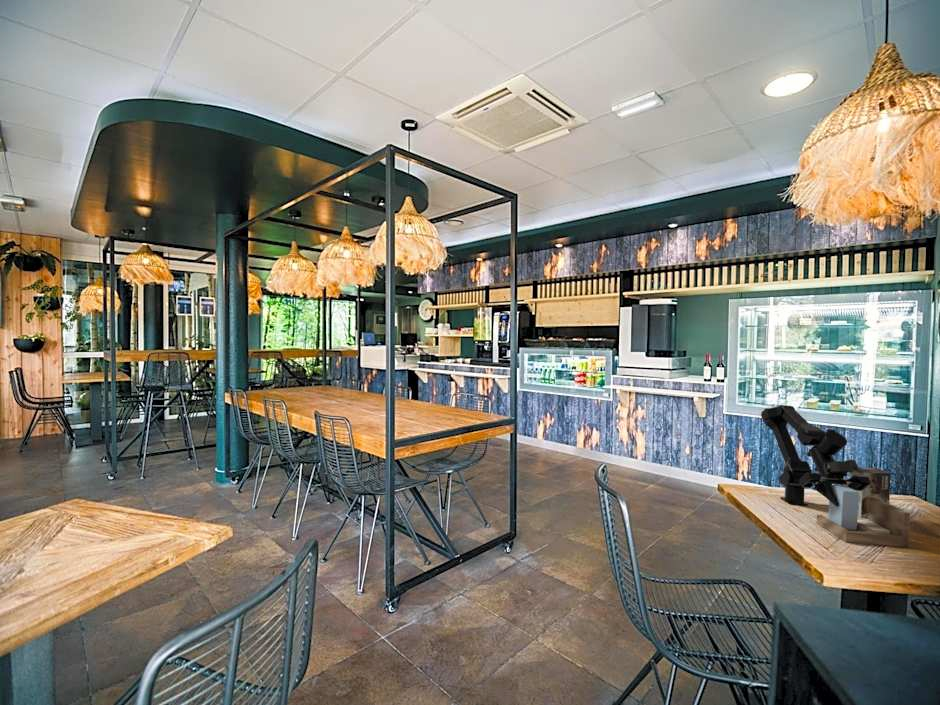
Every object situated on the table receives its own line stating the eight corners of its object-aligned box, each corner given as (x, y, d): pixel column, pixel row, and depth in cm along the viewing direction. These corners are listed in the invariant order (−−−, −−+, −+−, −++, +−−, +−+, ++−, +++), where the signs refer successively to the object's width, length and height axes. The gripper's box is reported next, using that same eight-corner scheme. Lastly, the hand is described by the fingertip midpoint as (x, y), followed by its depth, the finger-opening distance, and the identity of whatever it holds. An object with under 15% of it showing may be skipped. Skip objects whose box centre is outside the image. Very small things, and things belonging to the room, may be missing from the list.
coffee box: (874, 512, 160) (876, 467, 159) (889, 519, 153) (892, 473, 153) (846, 510, 160) (849, 466, 160) (860, 517, 154) (863, 471, 153)
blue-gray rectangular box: (828, 520, 146) (830, 484, 145) (843, 521, 145) (845, 485, 145) (841, 528, 140) (843, 491, 139) (856, 529, 139) (859, 492, 139)
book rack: (816, 523, 148) (817, 493, 148) (872, 527, 146) (874, 497, 146) (845, 542, 135) (847, 509, 134) (907, 546, 133) (909, 513, 132)
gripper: (806, 448, 147) (827, 493, 136) (868, 451, 145) (894, 497, 134) (791, 465, 155) (809, 508, 144) (849, 468, 153) (872, 512, 142)
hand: (846, 506), depth 141 cm, fingers closed on blue-gray rectangular box, 4 cm apart
